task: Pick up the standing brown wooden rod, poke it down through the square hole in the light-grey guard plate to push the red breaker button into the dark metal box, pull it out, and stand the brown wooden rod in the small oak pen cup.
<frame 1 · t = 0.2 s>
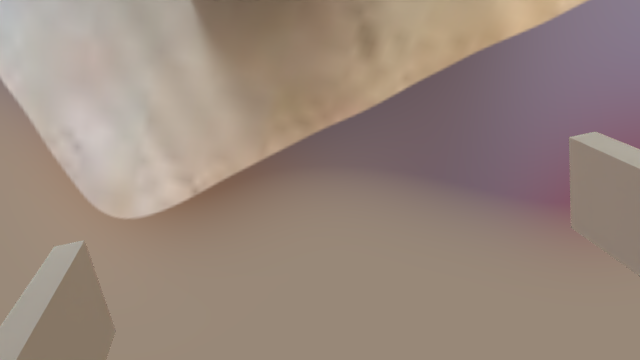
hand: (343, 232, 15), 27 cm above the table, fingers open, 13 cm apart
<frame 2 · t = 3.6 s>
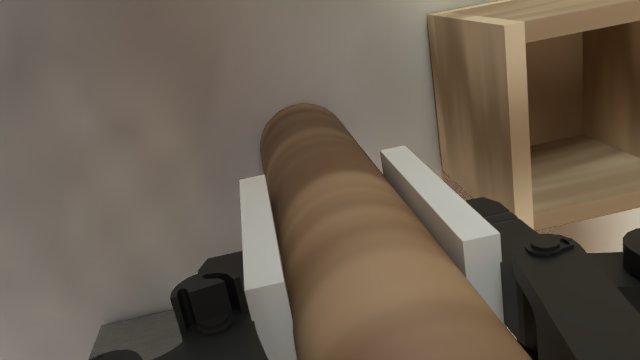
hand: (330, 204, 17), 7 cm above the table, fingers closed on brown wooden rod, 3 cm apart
brown wooden rod: (304, 147, 24), on the table, touching gripper
pen cup: (511, 81, 24), on the table
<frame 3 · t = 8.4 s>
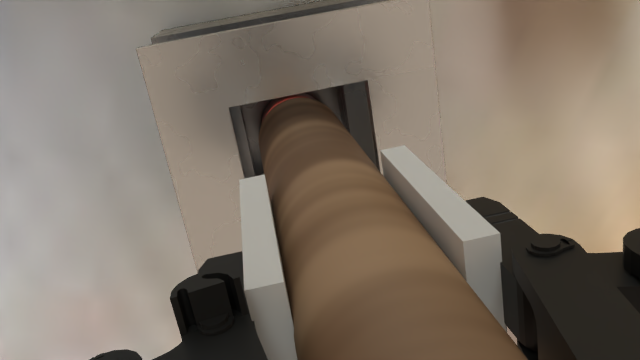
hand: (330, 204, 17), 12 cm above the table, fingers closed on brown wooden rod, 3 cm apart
brown wooden rod: (300, 139, 25), point 4 cm above the table, touching breaker button, gripper
grey button box: (289, 114, 28), on the table
breaker button: (296, 129, 25), point 3 cm above the table, slide at 2.3 cm, touching brown wooden rod
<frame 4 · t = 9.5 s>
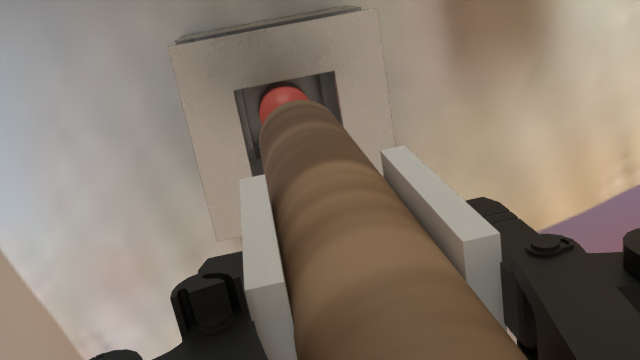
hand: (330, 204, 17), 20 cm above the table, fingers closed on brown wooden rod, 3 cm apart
brown wooden rod: (300, 141, 25), point 12 cm above the table, touching gripper
grey button box: (281, 102, 36), on the table
breaker button: (285, 111, 33), point 3 cm above the table, slide at 2.2 cm
when the fingers open (9 cm above the table, at t = 15.3 s): brown wooden rod stays where it is, resting on pen cup.
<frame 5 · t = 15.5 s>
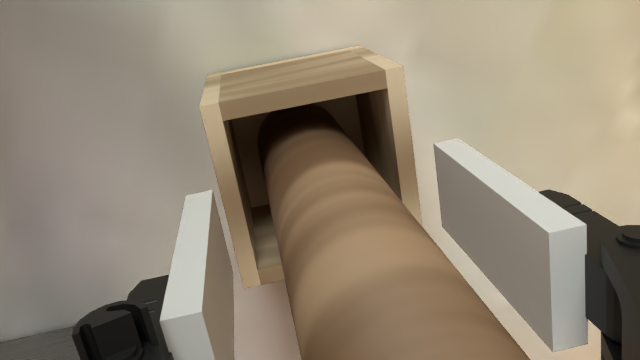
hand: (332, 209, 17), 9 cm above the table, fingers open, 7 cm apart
brown wooden rod: (299, 141, 25), point 1 cm above the table, touching pen cup
pen cup: (297, 133, 26), on the table
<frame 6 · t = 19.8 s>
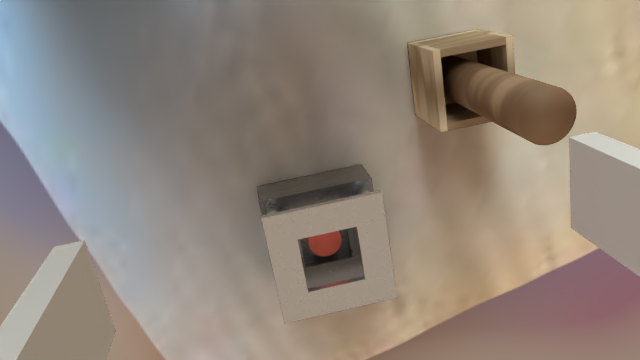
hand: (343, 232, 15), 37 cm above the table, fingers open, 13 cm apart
brown wooden rod: (449, 75, 52), point 1 cm above the table, touching pen cup
grey button box: (318, 223, 55), on the table
breaker button: (323, 236, 52), point 3 cm above the table, slide at 2.2 cm
pen cup: (446, 72, 52), on the table
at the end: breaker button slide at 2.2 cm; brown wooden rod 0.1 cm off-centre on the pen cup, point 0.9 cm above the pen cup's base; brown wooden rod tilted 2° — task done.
